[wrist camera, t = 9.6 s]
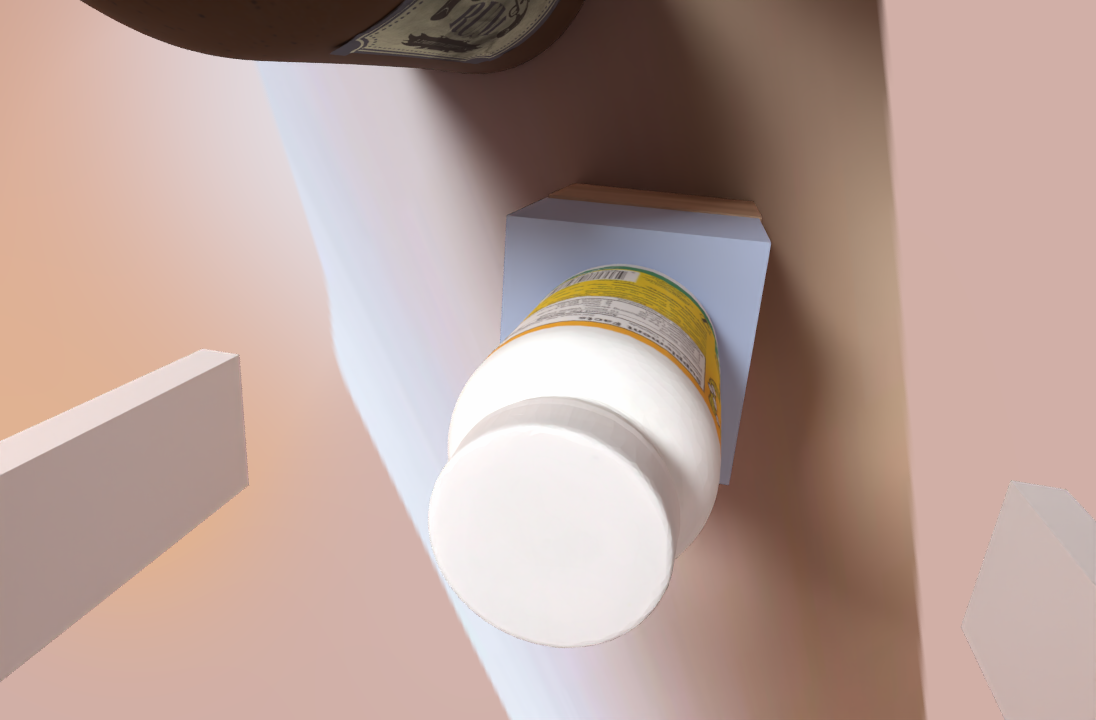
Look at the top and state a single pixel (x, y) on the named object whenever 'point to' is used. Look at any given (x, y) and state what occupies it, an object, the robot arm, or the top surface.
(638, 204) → the wooden block
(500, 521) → the supplement bottle
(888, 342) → the top surface
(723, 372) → the slate block
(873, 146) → the top surface
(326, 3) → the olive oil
